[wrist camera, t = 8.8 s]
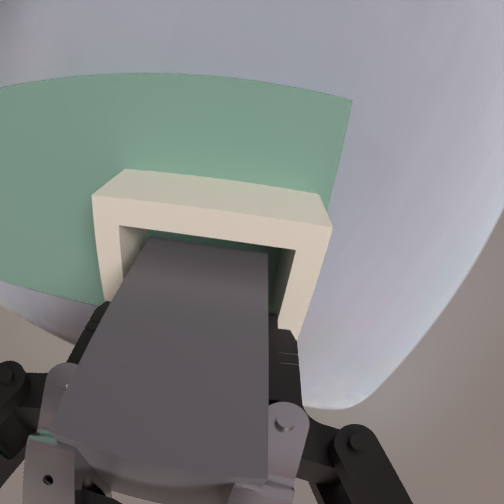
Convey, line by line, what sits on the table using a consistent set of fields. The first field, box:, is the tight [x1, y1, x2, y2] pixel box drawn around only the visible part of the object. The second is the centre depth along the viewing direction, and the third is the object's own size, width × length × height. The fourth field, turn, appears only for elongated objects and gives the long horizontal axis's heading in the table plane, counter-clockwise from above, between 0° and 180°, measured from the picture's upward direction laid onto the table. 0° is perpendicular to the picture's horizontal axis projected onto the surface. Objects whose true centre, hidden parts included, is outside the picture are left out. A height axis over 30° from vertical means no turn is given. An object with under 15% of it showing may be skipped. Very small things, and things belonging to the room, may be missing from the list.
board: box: [0, 73, 353, 307], centre depth 13 cm, size 12×19×1 cm, turn 82°
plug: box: [49, 237, 269, 504], centre depth 9 cm, size 5×4×8 cm
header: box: [92, 169, 333, 341], centre depth 13 cm, size 8×8×3 cm
